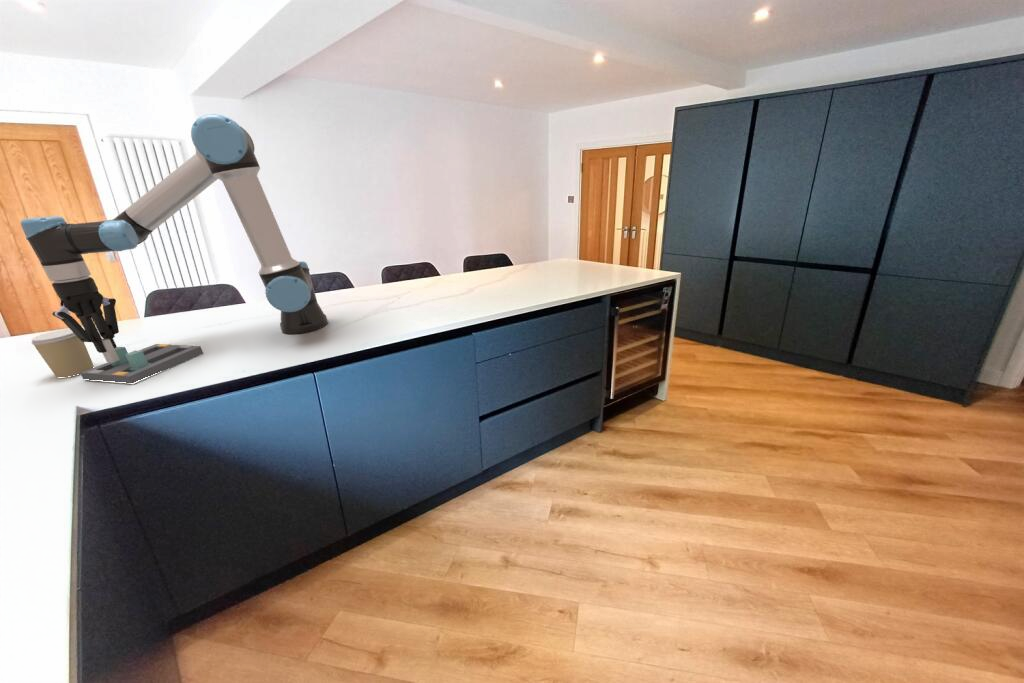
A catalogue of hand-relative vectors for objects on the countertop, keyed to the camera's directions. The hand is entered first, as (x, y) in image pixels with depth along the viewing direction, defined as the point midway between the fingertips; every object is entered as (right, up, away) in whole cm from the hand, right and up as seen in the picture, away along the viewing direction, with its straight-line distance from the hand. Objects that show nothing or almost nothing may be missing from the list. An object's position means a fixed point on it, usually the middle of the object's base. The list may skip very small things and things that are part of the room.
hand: (113, 360), depth 109 cm
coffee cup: (-14, -4, +3) cm, 15 cm away
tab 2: (+9, -3, -1) cm, 9 cm away
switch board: (+5, -2, +5) cm, 7 cm away
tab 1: (0, -2, +3) cm, 3 cm away
